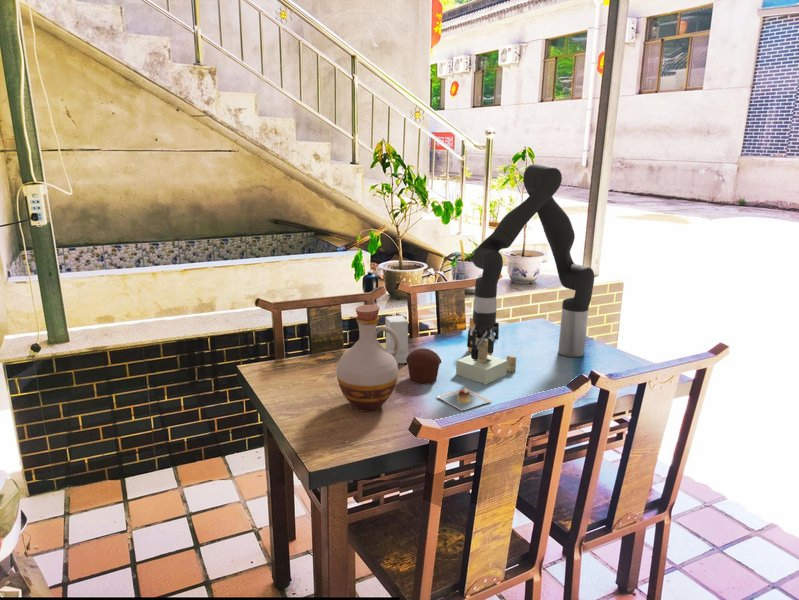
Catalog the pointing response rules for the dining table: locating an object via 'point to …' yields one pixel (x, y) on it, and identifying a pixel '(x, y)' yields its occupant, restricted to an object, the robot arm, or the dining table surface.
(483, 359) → the long dowel
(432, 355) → the muffin
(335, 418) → the dining table surface
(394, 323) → the skincare box
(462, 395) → the dessert
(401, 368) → the dining table surface
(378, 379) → the jug
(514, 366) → the short dowel
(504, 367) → the hole block
